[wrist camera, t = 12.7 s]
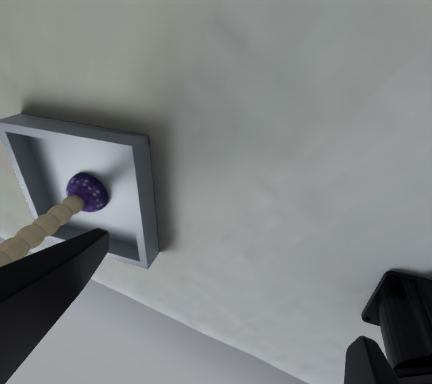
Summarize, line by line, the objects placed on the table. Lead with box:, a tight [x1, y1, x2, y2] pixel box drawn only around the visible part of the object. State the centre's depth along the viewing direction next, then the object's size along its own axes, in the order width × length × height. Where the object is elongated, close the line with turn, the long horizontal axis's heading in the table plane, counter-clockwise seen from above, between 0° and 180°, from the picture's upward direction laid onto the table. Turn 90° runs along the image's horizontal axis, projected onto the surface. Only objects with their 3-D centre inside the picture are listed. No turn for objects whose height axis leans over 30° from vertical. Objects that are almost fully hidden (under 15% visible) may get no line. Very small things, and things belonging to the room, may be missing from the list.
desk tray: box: [0, 114, 159, 269], centre depth 27 cm, size 14×14×2 cm
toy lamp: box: [0, 173, 108, 267], centre depth 20 cm, size 5×5×17 cm
